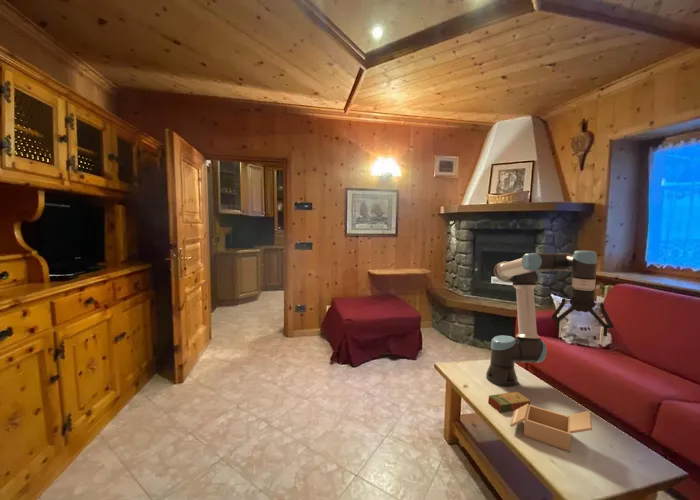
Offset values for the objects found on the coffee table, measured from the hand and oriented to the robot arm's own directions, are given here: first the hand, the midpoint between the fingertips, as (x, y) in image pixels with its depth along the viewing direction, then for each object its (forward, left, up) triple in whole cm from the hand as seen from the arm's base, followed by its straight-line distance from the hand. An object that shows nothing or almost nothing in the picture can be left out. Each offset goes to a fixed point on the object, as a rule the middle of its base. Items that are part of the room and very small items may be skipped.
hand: (579, 340), depth 127 cm
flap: (+14, -2, -29) cm, 32 cm away
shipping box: (+14, -12, -37) cm, 41 cm away
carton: (0, -25, -37) cm, 45 cm away
